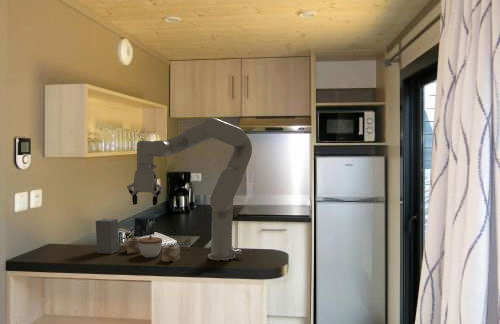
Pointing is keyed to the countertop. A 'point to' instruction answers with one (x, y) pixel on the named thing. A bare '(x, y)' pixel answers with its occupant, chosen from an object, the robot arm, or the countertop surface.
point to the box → (144, 226)
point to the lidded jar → (150, 246)
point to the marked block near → (170, 253)
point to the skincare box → (107, 236)
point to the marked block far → (133, 245)
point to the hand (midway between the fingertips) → (144, 204)
